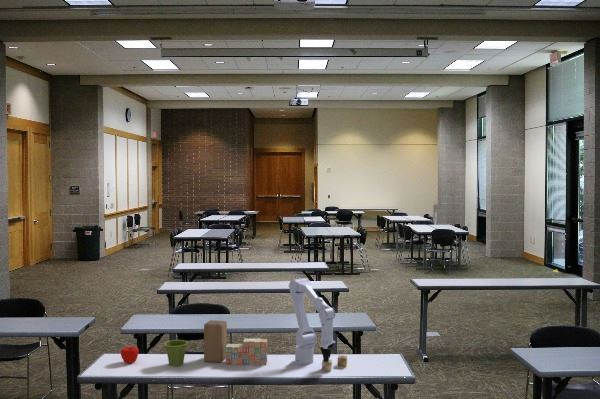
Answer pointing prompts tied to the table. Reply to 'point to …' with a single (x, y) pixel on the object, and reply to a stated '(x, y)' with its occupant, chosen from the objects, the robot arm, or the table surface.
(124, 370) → the table surface
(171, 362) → the plant pot
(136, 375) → the table surface
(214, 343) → the block
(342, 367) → the board
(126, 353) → the apple
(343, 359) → the oak block
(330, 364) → the maple block
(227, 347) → the stack of blocks
